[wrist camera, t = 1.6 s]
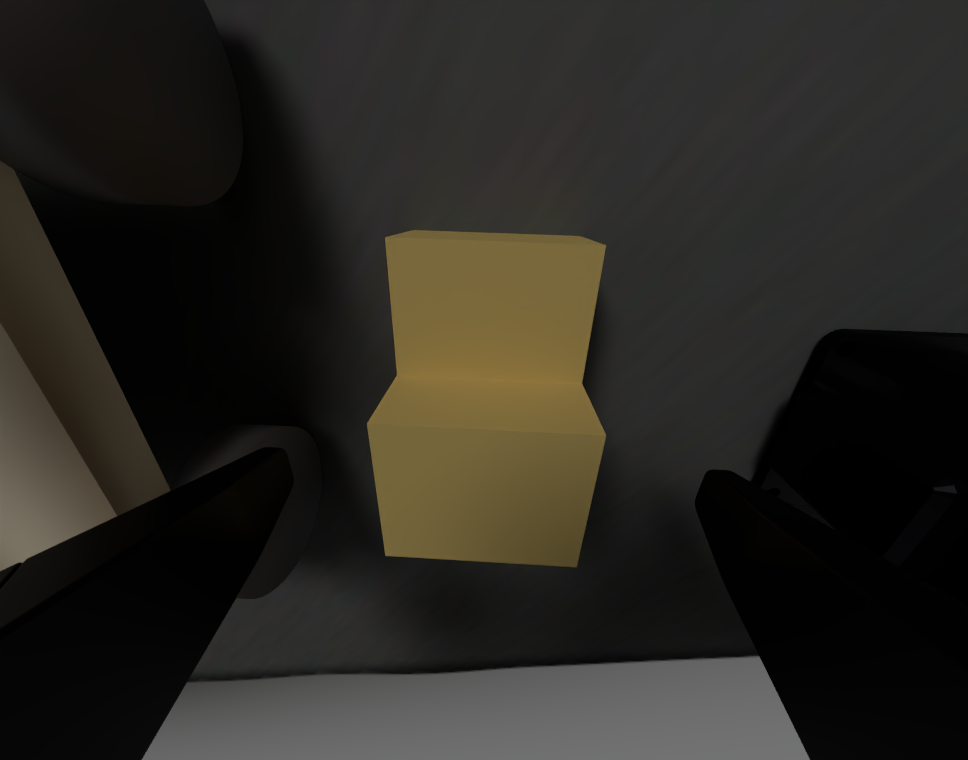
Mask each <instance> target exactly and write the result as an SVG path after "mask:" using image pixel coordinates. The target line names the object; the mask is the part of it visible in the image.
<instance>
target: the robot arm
mask: <svg viewBox="0 0 968 760" xmlns="http://www.w3.org/2000/svg"><path fill="white" fill-rule="evenodd" d="M843 344H845V345H844V347H843V348H842V349H841V350H839V351H838V349H839V348H840V347H841V346H842V345H843ZM293 483H294V476H293V472H292V469H291V465H290V462H289V458H288V454H287V452H286V451H285V449H283V448H277V447H263V448H261V449H258V450H256V451H254V452H252V453H250V454H248V455H246V456H244V457H241V458H239V459H237V460H235V461H233V462H231V463H229V464H227V465H225V466H222V467H220V468H218V469H216V470H214V471H212V472H210V473H208V474H205V475H203V476H201V477H199V478H197V479H195V480H193V481H191V482H188V483H186V484H184V485H182V486H180V487H178V488H176V489H174V490H171V491H169V492H167V493H165V494H163V495H161V496H159V497H157V498H154V499H152V500H150V501H148V502H146V503H144V504H142V505H140V506H138V507H135V508H133V509H131V510H129V511H127V512H125V513H123V514H121V515H118V516H116V517H114V518H112V519H110V520H108V521H106V522H104V523H101V524H99V525H97V526H95V527H93V528H91V529H89V530H87V531H84V532H82V533H80V534H78V535H76V536H74V537H72V538H70V539H68V540H65V541H63V542H61V543H59V544H57V545H55V546H53V547H51V548H48V549H46V550H44V551H42V552H40V553H38V554H36V555H34V556H31V557H29V558H27V559H26V560H25V561H24V562H23V563H22V562H19V563H16V564H14V565H12V566H10V567H8V568H6V569H4V570H1V571H0V760H142V758H143V756H144V755H145V753H146V751H147V750H148V748H149V746H150V744H151V743H152V741H153V739H154V738H155V736H156V734H157V732H158V731H159V729H160V727H161V726H162V724H163V722H164V720H165V719H166V717H167V715H168V714H169V712H170V710H171V708H172V707H173V705H174V703H175V702H176V700H177V698H178V697H179V695H180V693H181V691H182V690H183V688H184V686H185V685H186V683H187V681H188V679H189V678H190V676H191V674H192V673H193V671H194V669H195V668H196V666H197V664H198V662H199V661H200V659H201V657H202V656H203V654H204V652H205V650H206V649H207V647H208V645H209V644H210V642H211V640H212V638H213V637H214V635H215V633H216V632H217V630H218V628H219V626H220V625H221V623H222V621H223V620H224V618H225V616H226V615H227V613H228V611H229V609H230V608H231V606H232V604H233V603H234V601H235V599H236V597H237V596H238V594H239V592H240V591H241V589H242V587H243V585H244V584H245V582H246V580H247V579H248V577H249V575H250V573H251V572H252V570H253V568H254V567H255V565H256V563H257V561H258V559H259V558H260V556H261V554H262V552H263V550H264V548H265V546H266V544H267V542H268V540H269V538H270V535H271V533H272V531H273V529H274V527H275V525H276V522H277V520H278V518H279V516H280V514H281V512H282V509H283V507H284V505H285V503H286V501H287V499H288V496H289V494H290V492H291V490H292V487H293ZM792 505H804V506H811V507H812V508H813V509H814V510H815V511H816V512H817V513H818V514H819V515H820V516H822V517H823V518H824V519H825V520H826V521H827V522H828V523H829V524H830V525H831V526H832V527H833V528H834V529H835V530H834V529H832V528H830V527H829V526H827V525H825V524H823V523H822V522H820V521H818V520H816V519H815V518H813V517H811V516H809V515H808V514H806V513H804V512H802V511H801V510H799V509H797V508H795V507H794V506H792ZM695 507H696V511H697V514H698V517H699V519H700V522H701V525H702V527H703V530H704V533H705V535H706V538H707V541H708V543H709V546H710V548H711V551H712V554H713V556H714V559H715V562H716V564H717V567H718V570H719V572H720V575H721V577H722V579H723V582H724V584H725V586H726V588H727V591H728V593H729V595H730V597H731V599H732V601H733V603H734V605H735V607H736V609H737V611H738V613H739V615H740V617H741V620H742V622H743V624H744V626H745V628H746V630H747V632H748V634H749V636H750V638H751V640H752V642H753V644H754V646H755V648H756V650H757V652H758V654H759V656H760V658H761V660H762V662H763V664H764V666H765V668H766V670H767V672H768V675H769V677H770V679H771V681H772V683H773V685H774V687H775V689H776V691H777V693H778V695H779V697H780V699H781V701H782V703H783V705H784V707H785V709H786V711H787V713H788V715H789V717H790V719H791V722H792V723H793V726H794V728H795V730H796V732H797V734H798V736H799V738H800V740H801V742H802V744H803V746H804V748H805V750H806V752H807V754H808V756H809V758H810V760H968V334H965V333H939V332H913V331H886V330H860V329H839V330H835V331H833V332H830V333H829V334H827V335H826V336H825V337H824V338H823V339H822V340H821V341H820V343H819V344H818V346H817V348H816V351H815V353H814V355H813V357H812V359H811V361H810V363H809V365H808V367H807V369H806V371H805V373H804V376H803V378H802V380H801V382H800V384H799V386H798V388H797V390H796V392H795V394H794V396H793V399H792V401H791V403H790V405H789V407H788V409H787V411H786V413H785V415H784V417H783V419H782V422H781V424H780V426H779V428H778V430H777V432H776V434H775V436H774V438H773V440H772V442H771V444H770V447H769V449H768V451H767V453H766V455H765V457H764V459H763V461H762V463H761V465H760V467H759V470H758V472H757V474H756V476H755V478H754V480H753V482H750V481H748V480H746V479H745V478H743V477H741V476H739V475H738V474H736V473H734V472H732V471H729V470H709V471H707V472H706V473H705V475H704V478H703V480H702V483H701V486H700V488H699V491H698V493H697V496H696V499H695Z"/></svg>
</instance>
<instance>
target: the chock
mask: <svg viewBox="0 0 968 760" xmlns="http://www.w3.org/2000/svg"><path fill="white" fill-rule="evenodd" d="M385 242H386V253H387V265H388V276H389V288H390V299H391V310H392V322H393V333H394V345H395V356H396V367H397V376H396V378H395V379H394V381H393V383H392V384H391V386H390V387H389V389H388V391H387V392H386V394H385V395H384V397H383V399H382V400H381V402H380V403H379V405H378V407H377V408H376V410H375V411H374V413H373V415H372V416H371V418H370V419H369V421H368V423H367V428H368V435H369V442H370V449H371V456H372V463H373V471H374V478H375V485H376V492H377V499H378V506H379V514H380V521H381V528H382V535H383V542H384V549H385V556H396V557H413V558H430V559H447V560H464V561H480V562H497V563H514V564H531V565H547V566H564V567H577V564H578V559H579V555H580V550H581V546H582V541H583V537H584V532H585V528H586V523H587V519H588V515H589V510H590V506H591V501H592V497H593V492H594V488H595V483H596V479H597V474H598V470H599V466H600V461H601V457H602V452H603V448H604V443H605V439H606V434H605V432H604V430H603V428H602V425H601V423H600V421H599V419H598V417H597V415H596V413H595V410H594V408H593V406H592V404H591V402H590V400H589V397H588V395H587V393H586V391H585V389H584V387H583V385H582V381H583V375H584V370H585V364H586V358H587V352H588V346H589V341H590V335H591V329H592V323H593V318H594V312H595V306H596V300H597V295H598V289H599V283H600V277H601V272H602V266H603V260H604V254H605V249H606V245H604V244H601V243H598V242H595V241H592V240H589V239H586V238H584V237H581V236H560V235H532V234H504V233H477V232H449V231H421V230H412V231H408V232H404V233H400V234H396V235H392V236H388V237H385Z"/></svg>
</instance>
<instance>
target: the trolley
mask: <svg viewBox="0 0 968 760" xmlns="http://www.w3.org/2000/svg"><path fill="white" fill-rule="evenodd" d="M242 151H243V123H242V115H241V107H240V102H239V97H238V92H237V88H236V84H235V80H234V76H233V73H232V69H231V66H230V63H229V60H228V57H227V54H226V51H225V48H224V46H223V43H222V40H221V38H220V35H219V33H218V30H217V28H216V26H215V23H214V21H213V19H212V16H211V14H210V12H209V10H208V8H207V6H206V4H205V1H204V0H0V571H1V570H4V569H6V568H8V567H10V566H12V565H14V564H16V563H19V562H22V563H23V562H24V561H25V560H26V559H27V558H29V557H31V556H34V555H36V554H38V553H40V552H42V551H44V550H46V549H48V548H51V547H53V546H55V545H57V544H59V543H61V542H63V541H65V540H68V539H70V538H72V537H74V536H76V535H78V534H80V533H82V532H84V531H87V530H89V529H91V528H93V527H95V526H97V525H99V524H101V523H104V522H106V521H108V520H110V519H112V518H114V517H116V516H118V515H121V514H123V513H125V512H127V511H129V510H131V509H133V508H135V507H138V506H140V505H142V504H144V503H146V502H148V501H150V500H152V499H154V498H157V497H159V496H161V495H163V494H165V493H167V492H169V491H171V490H174V489H176V488H178V487H180V486H182V485H184V484H186V483H188V482H191V481H193V480H195V479H197V478H199V477H201V476H203V475H205V474H208V473H210V472H212V471H214V470H216V469H218V468H220V467H222V466H225V465H227V464H229V463H231V462H233V461H235V460H237V459H239V458H241V457H244V456H246V455H248V454H250V453H252V452H254V451H256V450H258V449H261V448H263V447H277V448H283V449H285V451H286V452H287V454H288V458H289V462H290V465H291V469H292V472H293V476H294V483H293V487H292V490H291V492H290V494H289V496H288V499H287V501H286V503H285V505H284V507H283V509H282V512H281V514H280V516H279V518H278V520H277V522H276V525H275V527H274V529H273V531H272V533H271V535H270V538H269V540H268V542H267V544H266V546H265V548H264V550H263V552H262V554H261V556H260V558H259V559H258V561H257V563H256V565H255V567H254V568H253V570H252V572H251V573H250V575H249V577H248V579H247V580H246V582H245V584H244V585H243V587H242V589H241V591H240V592H239V594H238V596H237V597H236V598H243V599H255V598H259V597H262V596H265V595H266V594H268V593H270V592H271V591H273V590H274V589H275V588H277V587H278V586H279V585H280V584H281V583H282V582H283V581H284V580H285V579H286V577H287V576H288V575H289V574H290V572H291V571H292V570H293V568H294V567H295V565H296V564H297V562H298V560H299V559H300V557H301V555H302V553H303V551H304V549H305V547H306V545H307V543H308V540H309V538H310V535H311V533H312V530H313V527H314V524H315V520H316V517H317V513H318V508H319V503H320V497H321V488H322V468H321V460H320V455H319V451H318V448H317V446H316V443H315V441H314V440H313V438H312V437H311V435H310V434H309V433H308V432H307V431H305V430H304V429H302V428H299V427H294V426H273V425H252V424H239V425H234V426H230V427H228V428H225V429H223V430H221V431H219V432H217V433H216V434H214V435H213V436H211V437H210V438H208V439H207V440H206V441H205V442H204V443H203V444H202V445H201V446H199V448H198V449H197V450H196V451H195V452H194V453H193V454H192V455H191V457H190V458H189V459H188V461H187V462H186V463H185V465H184V466H183V468H182V469H181V471H180V472H179V474H178V476H177V477H176V479H175V481H174V483H173V485H172V488H171V490H170V488H169V486H168V484H167V482H166V480H165V478H164V476H163V474H162V472H161V470H160V468H159V465H158V463H157V461H156V459H155V457H154V455H153V453H152V451H151V449H150V447H149V445H148V443H147V441H146V439H145V437H144V435H143V433H142V431H141V429H140V427H139V425H138V423H137V420H136V418H135V416H134V414H133V412H132V410H131V408H130V406H129V404H128V402H127V400H126V398H125V396H124V394H123V392H122V390H121V388H120V386H119V384H118V382H117V380H116V378H115V375H114V373H113V371H112V369H111V367H110V365H109V363H108V361H107V359H106V357H105V355H104V353H103V351H102V349H101V347H100V345H99V343H98V341H97V339H96V337H95V335H94V332H93V330H92V328H91V326H90V324H89V322H88V320H87V318H86V316H85V314H84V312H83V310H82V308H81V306H80V304H79V302H78V300H77V298H76V296H75V294H74V292H73V290H72V287H71V285H70V283H69V281H68V279H67V277H66V275H65V273H64V271H63V269H62V267H61V265H60V263H59V261H58V259H57V257H56V255H55V253H54V251H53V249H52V247H51V245H50V242H49V240H48V238H47V236H46V234H45V232H44V230H43V228H42V226H41V224H40V222H39V220H38V218H37V216H36V214H35V212H34V210H33V208H32V206H31V204H30V202H29V200H28V197H27V195H26V193H25V191H24V189H23V187H22V185H21V183H20V181H19V179H18V177H17V175H16V173H15V171H14V170H16V171H18V172H20V173H22V174H24V175H26V176H27V177H29V178H31V179H33V180H35V181H37V182H39V183H41V184H44V185H46V186H48V187H50V188H53V189H55V190H57V191H60V192H62V193H66V194H69V195H72V196H75V197H78V198H81V199H85V200H90V201H95V202H99V203H110V204H132V205H165V206H200V205H205V204H208V203H211V202H214V201H215V200H217V199H219V198H221V197H222V196H223V195H224V194H225V193H226V192H227V191H228V190H229V188H230V187H231V186H232V184H233V183H234V180H235V178H236V176H237V174H238V171H239V167H240V164H241V158H242Z"/></svg>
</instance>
